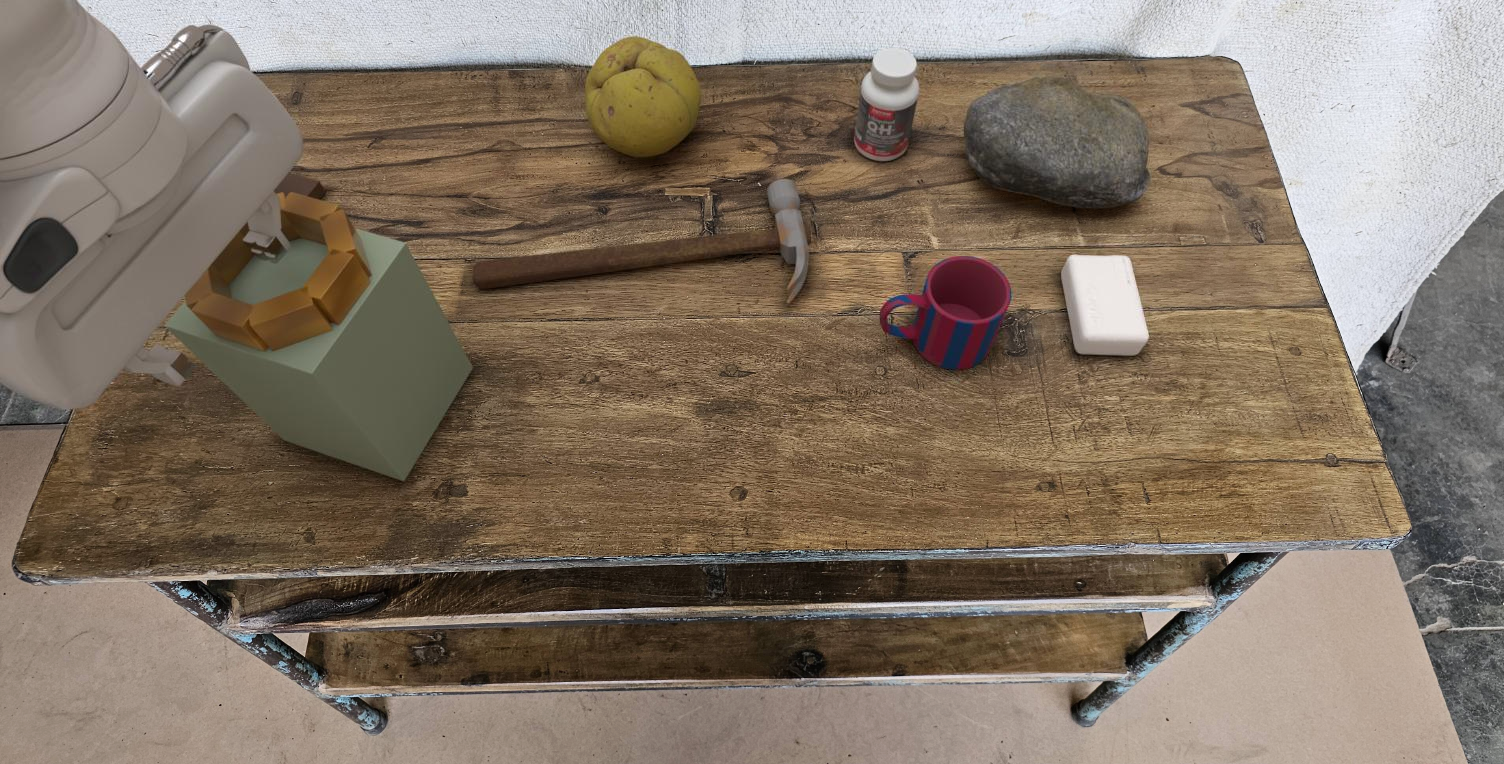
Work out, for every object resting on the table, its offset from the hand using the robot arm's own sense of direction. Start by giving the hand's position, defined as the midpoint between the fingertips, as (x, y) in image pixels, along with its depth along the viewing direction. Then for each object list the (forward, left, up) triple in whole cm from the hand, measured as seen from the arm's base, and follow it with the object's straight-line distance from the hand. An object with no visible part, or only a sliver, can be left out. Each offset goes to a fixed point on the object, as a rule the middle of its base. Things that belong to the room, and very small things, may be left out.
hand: (229, 311), depth 52 cm
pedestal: (+4, 0, -18) cm, 19 cm away
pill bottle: (+46, -31, -19) cm, 59 cm away
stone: (+47, -47, -19) cm, 69 cm away
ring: (+4, 0, -2) cm, 5 cm away
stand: (+18, +22, -18) cm, 34 cm away
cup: (+25, -41, -19) cm, 52 cm away
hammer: (+24, -15, -19) cm, 34 cm away
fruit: (+39, -9, -19) cm, 44 cm away
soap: (+32, -54, -19) cm, 66 cm away
